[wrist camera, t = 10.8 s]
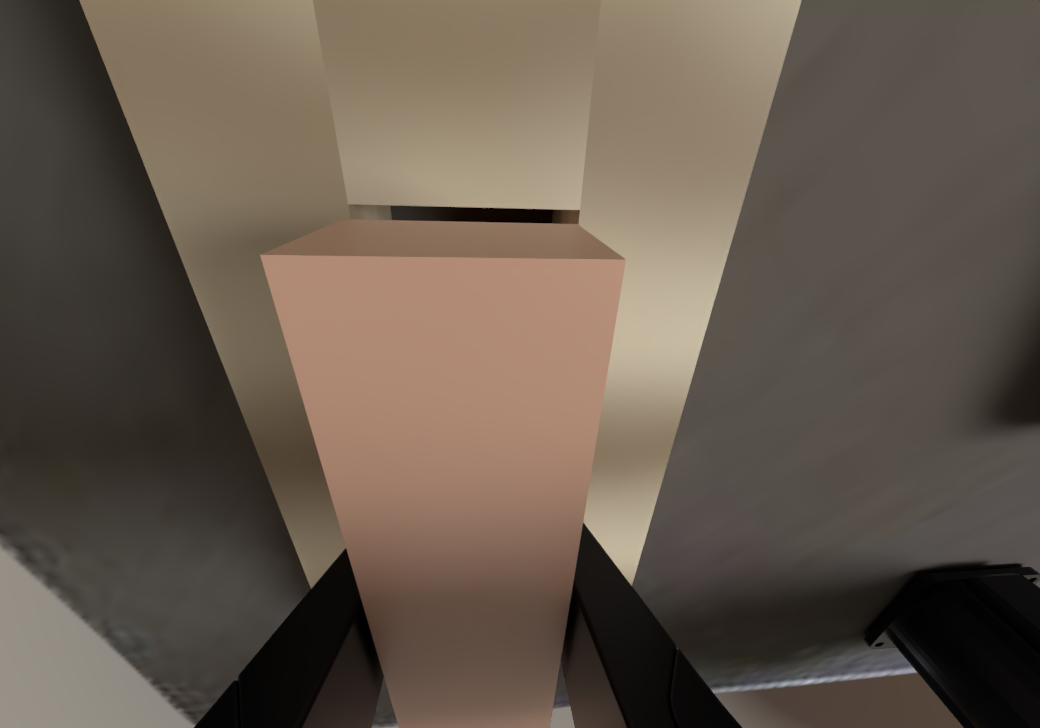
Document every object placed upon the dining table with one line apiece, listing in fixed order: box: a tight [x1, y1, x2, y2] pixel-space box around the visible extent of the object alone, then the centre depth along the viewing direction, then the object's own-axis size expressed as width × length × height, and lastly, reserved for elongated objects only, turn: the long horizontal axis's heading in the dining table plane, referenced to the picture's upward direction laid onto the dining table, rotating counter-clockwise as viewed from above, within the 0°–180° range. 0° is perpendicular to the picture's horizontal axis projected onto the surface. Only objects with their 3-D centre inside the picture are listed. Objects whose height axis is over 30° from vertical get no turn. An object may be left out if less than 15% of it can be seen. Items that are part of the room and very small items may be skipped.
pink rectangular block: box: [260, 219, 626, 728], centre depth 8 cm, size 12×3×5 cm, turn 178°
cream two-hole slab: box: [79, 0, 801, 589], centre depth 11 cm, size 20×10×3 cm, turn 178°
